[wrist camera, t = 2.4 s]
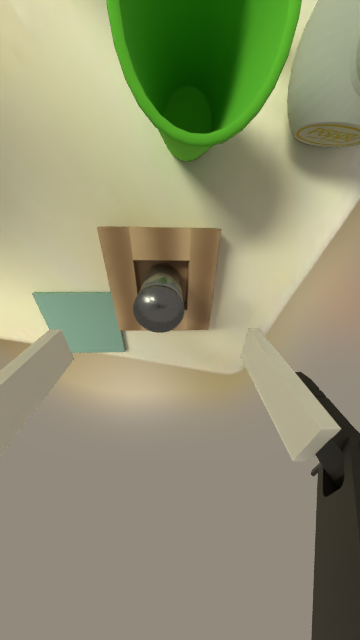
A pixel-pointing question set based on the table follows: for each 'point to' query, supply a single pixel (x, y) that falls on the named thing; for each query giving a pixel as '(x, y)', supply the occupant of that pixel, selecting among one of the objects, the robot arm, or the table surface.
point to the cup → (202, 63)
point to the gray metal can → (160, 300)
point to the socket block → (161, 248)
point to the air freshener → (327, 77)
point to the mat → (83, 320)
